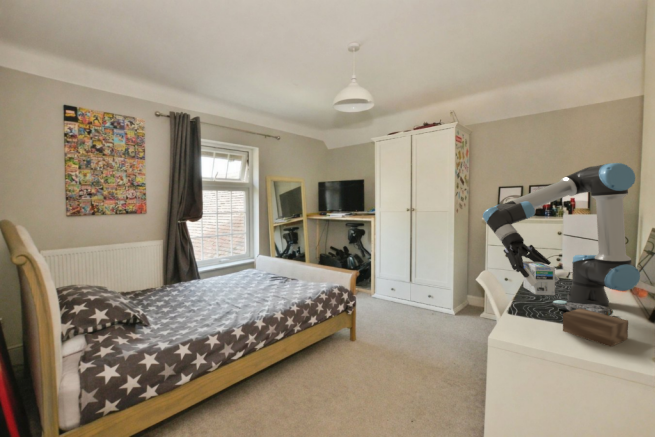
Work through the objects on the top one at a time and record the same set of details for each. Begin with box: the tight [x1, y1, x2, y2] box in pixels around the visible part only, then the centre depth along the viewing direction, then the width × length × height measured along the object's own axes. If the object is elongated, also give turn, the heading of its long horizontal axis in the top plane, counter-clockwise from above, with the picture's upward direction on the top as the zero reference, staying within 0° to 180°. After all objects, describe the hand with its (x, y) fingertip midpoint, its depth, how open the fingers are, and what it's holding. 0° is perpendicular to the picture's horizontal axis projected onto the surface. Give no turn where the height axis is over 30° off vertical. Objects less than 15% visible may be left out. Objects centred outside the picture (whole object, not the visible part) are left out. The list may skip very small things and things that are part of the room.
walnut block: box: [562, 308, 629, 348], centre depth 108 cm, size 12×14×7 cm
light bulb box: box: [522, 260, 556, 296], centre depth 116 cm, size 11×7×11 cm, turn 169°
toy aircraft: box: [552, 299, 614, 316], centre depth 129 cm, size 16×20×5 cm
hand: (545, 282), depth 113 cm, fingers closed on light bulb box, 10 cm apart
